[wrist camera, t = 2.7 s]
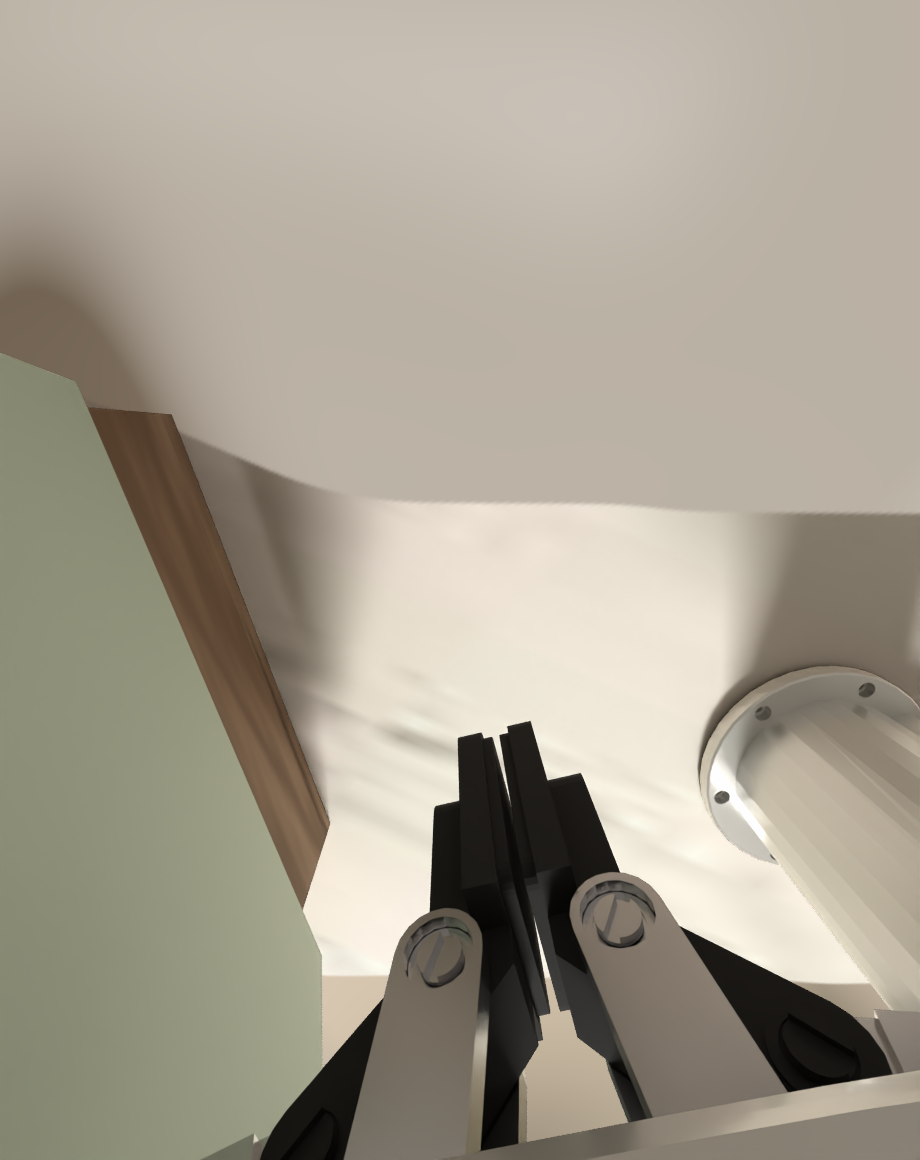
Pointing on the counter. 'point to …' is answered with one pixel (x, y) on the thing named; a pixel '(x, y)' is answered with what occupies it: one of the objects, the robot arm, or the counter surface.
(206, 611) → the storage box
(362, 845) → the counter surface
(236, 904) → the lid
